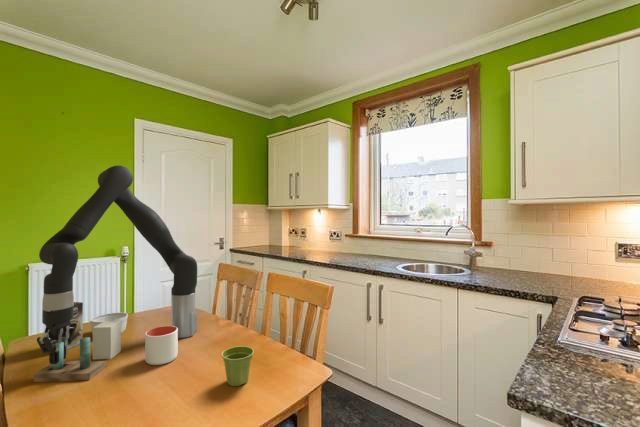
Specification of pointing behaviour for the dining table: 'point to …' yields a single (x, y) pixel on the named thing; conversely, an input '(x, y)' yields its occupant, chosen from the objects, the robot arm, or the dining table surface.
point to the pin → (61, 356)
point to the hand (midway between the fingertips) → (57, 361)
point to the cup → (161, 345)
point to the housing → (106, 340)
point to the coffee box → (79, 329)
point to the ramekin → (110, 319)
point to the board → (84, 372)
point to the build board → (53, 372)
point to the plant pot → (237, 364)
